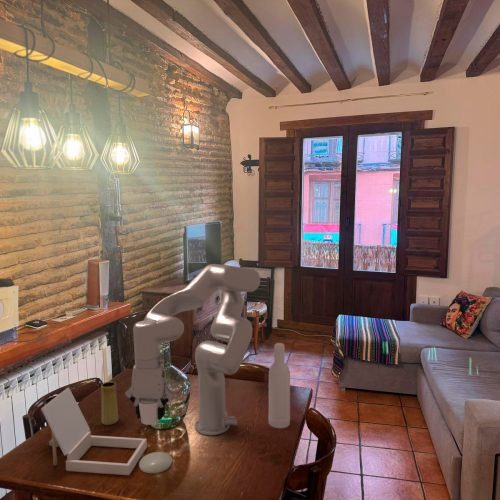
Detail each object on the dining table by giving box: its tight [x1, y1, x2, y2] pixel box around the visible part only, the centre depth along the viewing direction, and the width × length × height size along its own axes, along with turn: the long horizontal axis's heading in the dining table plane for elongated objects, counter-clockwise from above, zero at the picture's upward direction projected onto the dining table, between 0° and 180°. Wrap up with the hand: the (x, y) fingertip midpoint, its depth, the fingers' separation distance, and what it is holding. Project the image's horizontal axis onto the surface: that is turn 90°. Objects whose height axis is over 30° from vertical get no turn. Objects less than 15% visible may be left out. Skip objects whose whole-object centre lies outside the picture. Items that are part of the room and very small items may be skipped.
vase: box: [100, 381, 119, 426], centre depth 161 cm, size 6×6×14 cm
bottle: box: [267, 342, 291, 430], centre depth 158 cm, size 8×8×30 cm
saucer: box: [138, 451, 173, 474], centre depth 135 cm, size 10×10×1 cm
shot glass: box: [138, 398, 160, 426], centre depth 134 cm, size 7×7×7 cm
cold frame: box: [40, 387, 148, 476], centre depth 138 cm, size 27×15×20 cm, turn 83°
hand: (150, 416), depth 135 cm, fingers closed on shot glass, 6 cm apart
